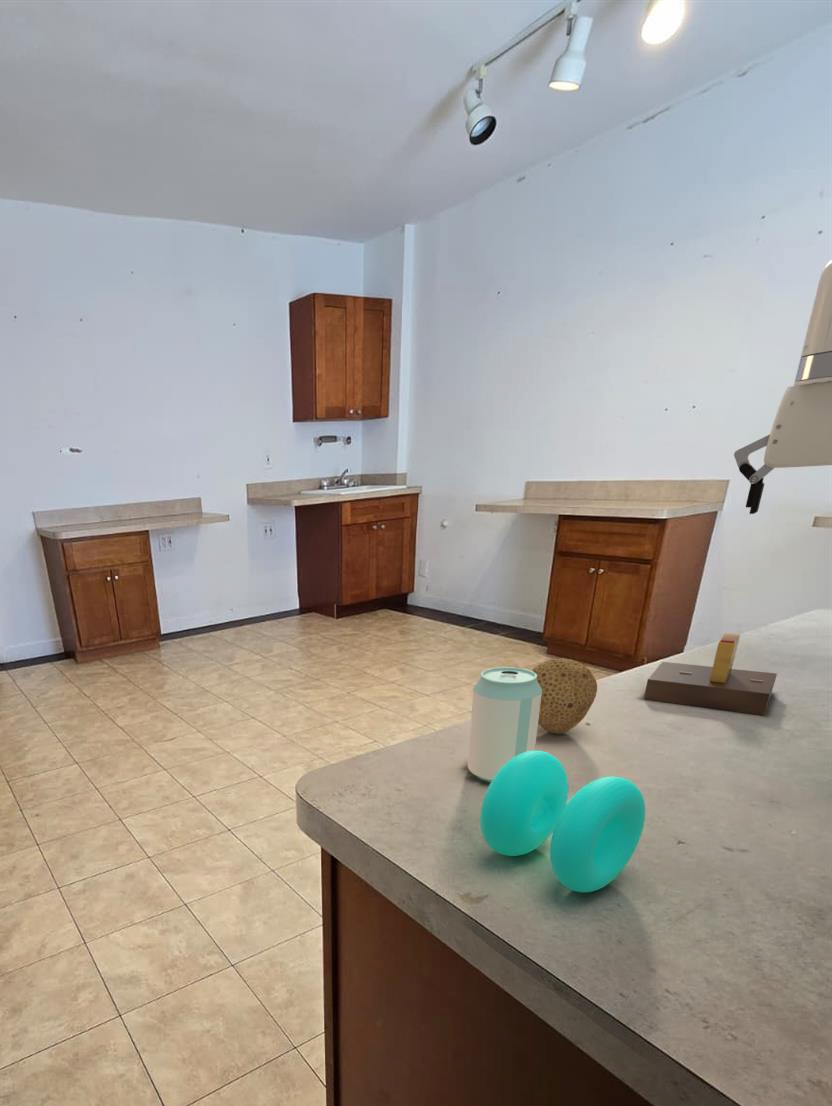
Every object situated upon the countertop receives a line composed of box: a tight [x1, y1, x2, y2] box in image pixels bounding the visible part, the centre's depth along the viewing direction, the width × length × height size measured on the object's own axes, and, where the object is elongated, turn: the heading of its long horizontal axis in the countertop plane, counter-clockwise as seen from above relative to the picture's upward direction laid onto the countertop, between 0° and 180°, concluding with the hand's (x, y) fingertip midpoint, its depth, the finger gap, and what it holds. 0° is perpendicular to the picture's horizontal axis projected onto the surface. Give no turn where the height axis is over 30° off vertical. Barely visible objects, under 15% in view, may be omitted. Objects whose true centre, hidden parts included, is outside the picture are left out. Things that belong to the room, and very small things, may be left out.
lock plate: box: [643, 661, 778, 716], centre depth 91 cm, size 14×10×3 cm
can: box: [467, 666, 542, 783], centre depth 72 cm, size 7×7×12 cm
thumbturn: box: [710, 633, 741, 683], centre depth 88 cm, size 6×2×6 cm, turn 140°
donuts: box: [479, 749, 646, 893], centre depth 55 cm, size 10×10×10 cm
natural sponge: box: [530, 657, 598, 735], centre depth 82 cm, size 9×9×10 cm
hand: (795, 512), depth 89 cm, fingers open, 9 cm apart
